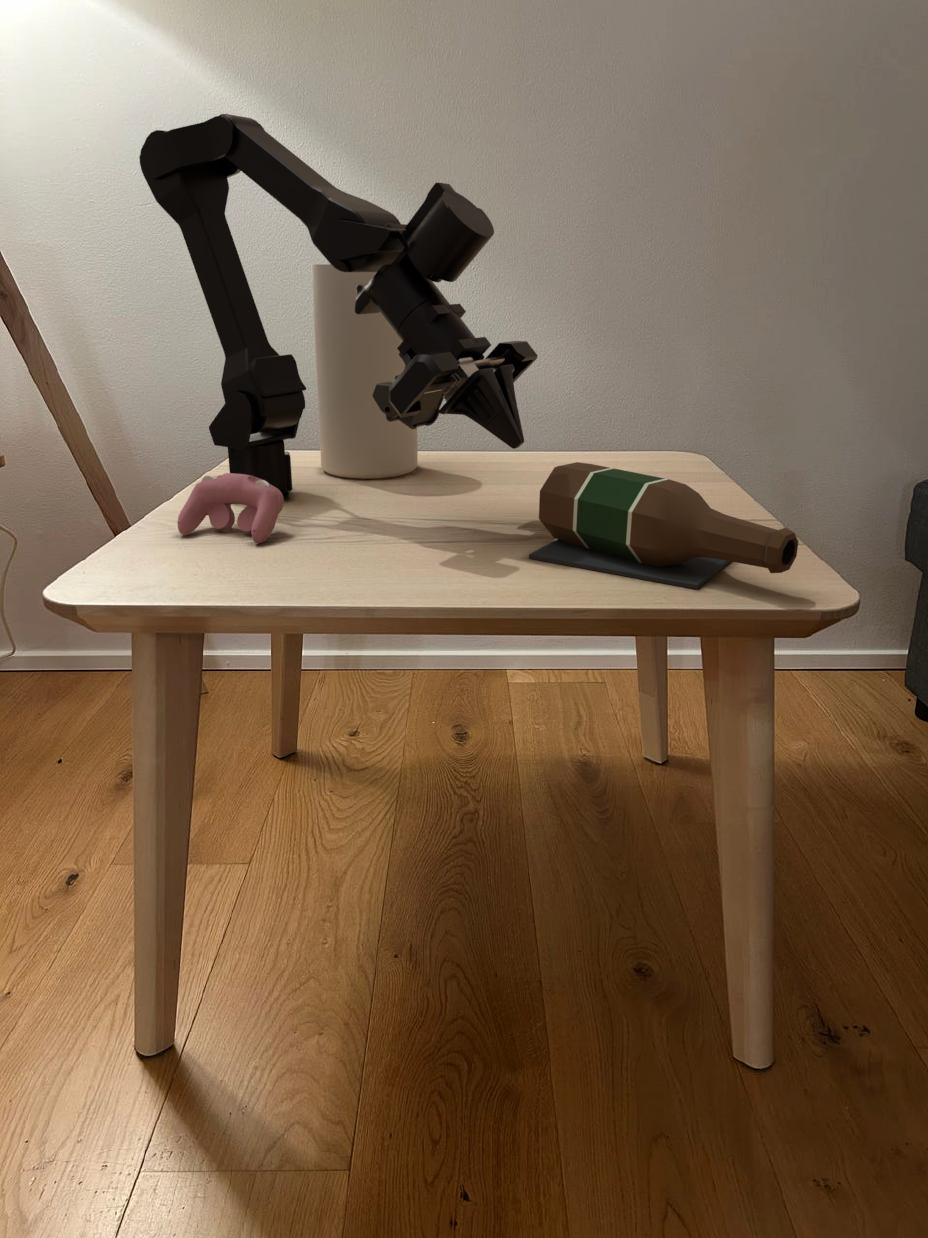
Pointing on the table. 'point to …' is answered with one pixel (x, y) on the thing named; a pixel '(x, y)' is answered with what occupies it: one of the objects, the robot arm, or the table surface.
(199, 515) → the video game controller
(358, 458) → the cylinder vase
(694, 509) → the beer bottle
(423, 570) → the table surface
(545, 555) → the mat
